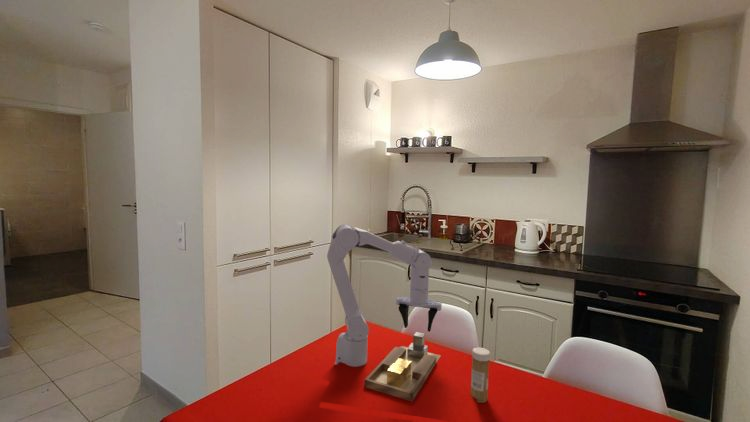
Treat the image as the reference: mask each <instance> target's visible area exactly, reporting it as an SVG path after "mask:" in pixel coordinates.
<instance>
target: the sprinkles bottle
mask: <svg viewBox="0 0 750 422" xmlns="http://www.w3.org/2000/svg"><path fill="white" fill-rule="evenodd" d="M471 355H472V356H471V357H472V363H471V364H472V366H471V376H470V377H471V382H470V386H471V387H470V395H471V397H472V398H474V399H476V403H480V404H482V403H483V404H485V403H486V402H487V401H488V389H489V388H488V387H489V368H490V367H489V366H490V360H491V352H490V350H488V349H487V348H483V347H474V348H472V353H471Z"/></svg>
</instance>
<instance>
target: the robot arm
mask: <svg viewBox="0 0 750 422" xmlns="http://www.w3.org/2000/svg"><path fill="white" fill-rule="evenodd" d="M357 245H358V246H359V247H361V246H364V245H370V246H373V247H374V248H377V249H380V250H382V251H386V252H387V253H388V254H389V256H390V258H391V259H394V260H397V261H399V262H401V263H404V264H407V265H408V266H409V265H411V267H410V268H411V269H410V270H411V271H410V285H409V286H410V288H409V297H401V296H400V297H399V296H398V297H397V298H396V300H395V301H396V302H395V304H396V306H398V311H399V313H400V315H401V317H402V321H403V328H405V329H406V328H408V326H409V309H410V307H414V308H422V309H429V310H428V312H427V314H428V315H427V317H428V318H427V320H428V324H427V332H431V330H432V326H433V321H434V319H435V317H436V315H437V312H438V311H440V312H441V310H442V307H443V306H442V303H441V302H439V301H438V302H437V301H434V300H430V299H429V298H428V296H429V279H430V278H429V277H430V275H429V274H430V269H431V268H432V265H433V261H432V258H431V256H430V254H428V253H427V252H425V251H423V250H421V249H420V248H419V247H417V246H415V247H414V246H412V245H409V244H407V242H406V240H405V241H404V240H401V241H400V240H396V241H393V242H392V241H389V240H387V239H385V238H383V237H381V236H379V235H377V234H374V233H372V232H370V231H368V230H365V229H363V228H359V227H355V226H353V227H352V225H349V224H342V225H339V226H338V227H337V228H336V229H335V230H334V232H332V235H331V241H330V243H329V246H328V247H329V248H328V251H327V253H326V258H327V261H328V264H329V267H330V271H331V274H332V276H333V277H332V278H333V280H334V283H335V286H336V289H337V292H338V295H339V298H340V300H341V301H340V302H341V303H342V306H343V307H342V308H343V310H344V314H345V320H344V321H345V325H346V327H347V328H346V330H345V332H341V333H340V334H339V335H338V338H337V340H336V344H335V345H336V346H335V347H336V348H335V349H336V352H335V362H334V365H339V363H342V364H345V365H346V366H348V367H349V366H350V367H354V368H355V367H362V366H364V365H366V364H367V362H368V342H369V341H368V339H369V338H368V336H369V332H370V328H369V325H368V323H367V321H366V320H365V316H364V314H363V313H362V312H361V311H360V308H359V305H358V302H357V298H356V296H355V293H354V292H355V291H354V289H353V286H352V283H351V280H350V277H349V273H348V271H347V267H346V265H345V261H344V260H345V259H346V257H347V255H348V254H349V252H351V250H353V249H354V248H355V247H356V246H357Z"/></svg>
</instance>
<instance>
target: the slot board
mask: <svg viewBox="0 0 750 422" xmlns="http://www.w3.org/2000/svg"><path fill="white" fill-rule="evenodd" d="M408 347H409V346H404V345H401V346H399V347H398V346H394V348H393V349H392V350H391V351H390V352H389V353H388V354H387V355H386V356H385V357H384V359H382V361H381V362H379V364H378V365H376V367H375V368H374V369H373V370H372V371H371V372H370V373H369V375H367V376H366V378H364V387H365V388H367V389H371V390H374V391H377V392H381V393H383V394H387V395H391V396H393V397H398V398H400V399H402V400H407V401H410V402H413V401H414V400H415V398H416V396H417V395H418V393H419V391H420V390H421V388H422V387H423V385H424V383H425V382H426V381H427V379H428V377H429V375H430V373H431V372H432V371H433V369H434V367H435V366H436V364H437V363H438V360H439V359H440V358H441V356H442V355H440V354H436V353H433V352H428V351H427V354H425V355H424V356H423V358H422V359H418V358H414V357H409V356H407V351H408ZM398 358H400V359H404V360H408V361H411V375H410V376H409V378H408V379H407V380H406V381H405V382H404V383H403V384H402V386H401V387H400V388H399V387H396V386H393V385H389V384H387V370H388V369H389V368H390V366H391V365H392V364H394V363H395V362H396V361H397V360H398Z"/></svg>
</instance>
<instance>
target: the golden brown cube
mask: <svg viewBox="0 0 750 422" xmlns="http://www.w3.org/2000/svg"><path fill="white" fill-rule="evenodd" d="M405 372H406V367H403V366H399V365H395V364H392V365H391V366H390V368H389V369H388V370H387V384H389V385H393V386H396V387H399V388H400V387H401V386H402V384H403V383H404V382H405Z"/></svg>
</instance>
